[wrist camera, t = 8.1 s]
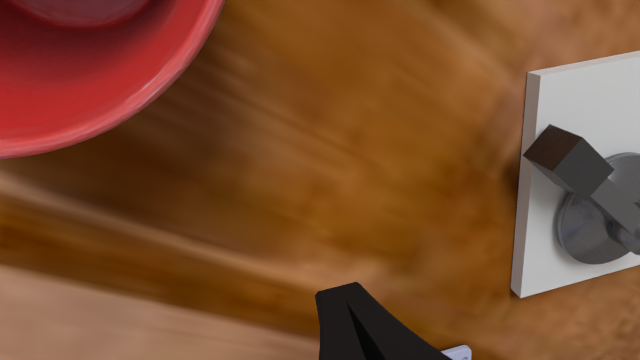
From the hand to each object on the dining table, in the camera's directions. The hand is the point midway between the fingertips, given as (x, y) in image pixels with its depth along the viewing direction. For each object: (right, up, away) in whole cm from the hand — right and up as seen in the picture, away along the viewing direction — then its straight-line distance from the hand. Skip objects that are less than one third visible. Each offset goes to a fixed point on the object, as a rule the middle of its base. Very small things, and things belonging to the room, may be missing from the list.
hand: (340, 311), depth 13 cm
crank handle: (+15, +3, +11) cm, 19 cm away
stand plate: (+18, +5, +13) cm, 22 cm away
